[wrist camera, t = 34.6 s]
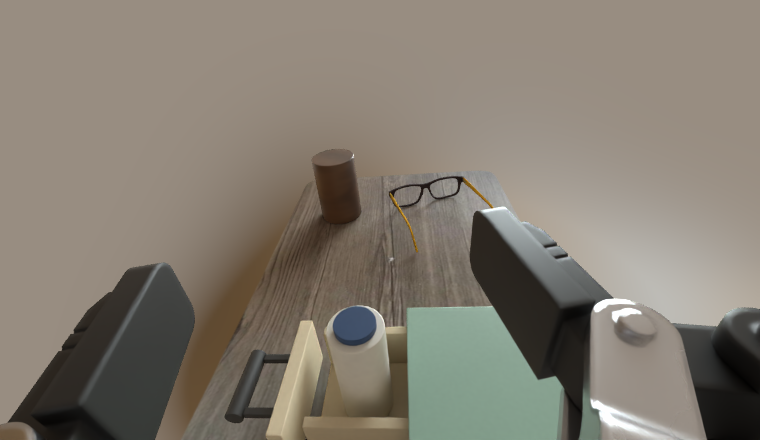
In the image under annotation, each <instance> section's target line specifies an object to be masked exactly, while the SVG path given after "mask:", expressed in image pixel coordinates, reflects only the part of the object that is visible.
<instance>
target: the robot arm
mask: <svg viewBox="0 0 760 440" xmlns="http://www.w3.org/2000/svg"><path fill="white" fill-rule="evenodd" d="M470 263H471V268H472V271H473V274H474V276H475V278H476V279H477V281H478V283H479V284H480V286H481V288H482V289H483V291H484V292H485V294H486V296H487V297H488V299H489V301H490V302H491V304H492V306H493V307H494V309H495V310H496V312H497V314H498V315H499V317H500V319H501V320H502V322H503V324H504V325H505V327H506V328H507V330H508V332H509V333H510V335H511V337H512V338H513V340H514V342H515V343H516V345H517V346H518V348H519V350H520V351H521V353H522V355H523V356H524V358H525V360H526V361H527V363H528V365H529V366H530V368H531V369H532V371H533V373H534V374H535V376H536V378H537V379H538V380H541V379H545V378H550V377H554V376H556V377H557V379H558V380H559V382H560V383H561V385H562V386H563V387H562V389H561V393H560V404H559V417H558V430H557V440H760V309H756V308H737V309H733V310H731V311H729V312H728V313H727V314H726V315H725V316H724V318H723V319H722V321H721V322H720V324H719V325H718V326H717V327H716V326H702V325H689V324H676V323H671V322H670V321H669V320H667V319H666V318H665V317H664V316H662V315H661V314H659V313H658V312H656V311H655V310H653V309H651V308H649V307H647V306H644V305H642V304H639V303H636V302H633V301H628V300H622V299H614V298H613V297H612V296H611V295H610V294H609V293H608V292H607V291H606V290H604V288H602V287H601V286H600V285H599V284H598V283H597V282H596V281H595V280H594V279H593V278H592V277H591V276H590V275H589V274H588V273H587V272H586V271H585V270H584V269H583V268H582V267H581V266H580V265H579V264H578V263H577V262H576V261H575V260H574V259H572V258H571V257H568V254H567V253H566V252H565V251H564V250H563V249H562V248H561V247H560V246H557V243H556V242H555V241H554V240H553V239H552V238H551V237H550V236H549V235H548V234H547V233H546V232H545V231H543V230H541V229H539V228H538V227H536V226H534V225H532V224H530V223H528V222H526V221H525V222H519V221H518V220H517V219H516V217H515V216H514V215H513V214H512V213H511V212H510V211H509V210H508V209H507V208H505V207H498V208H492V209H486V210H480V211H476V212H475V213H474V216H473V224H472V236H471V247H470ZM194 323H195V317H194V310H193V307H192V304H191V302H190V300H189V298H188V297H187V295H186V293H185V291H184V290H183V288H182V286H181V284H180V282H179V280H178V279H177V277H176V275H175V273H174V271H173V269H172V268H171V267H170V265H168V264H167V263H157V264H151V265H145V266H139V267H133V268H130V269H128V270H127V271H126V272H125V274H124V275H123V276H122V278H121V279H120V281H119V282H118V284H117V286H116V287H115V289H114V290H113V291H112V292H109V293H108V294H106V295H105V296H104V297H103V298H102V299H100V300H99V301H98V302H97V303H96V304H95V305H94V306H92V307H91V308H90V309H89V310H88V311H87V312H86V313H85V315H84V317H83V318H82V319H81V320H80V322H79V323H78V325H77V326H76V327H75V329H74V334H70V336H69V337H68V339H67V340H66V341H65V343H64V344H63V346H62V351H59V352H58V353H57V354H56V355H55V357H54V358H53V360H52V361H51V363H50V364H49V365H48V367H47V368H46V370H45V371H44V372H43V374H42V375H41V377H40V378H39V379H38V381H37V382H36V384H35V385H34V386H33V388H32V389H31V391H30V392H29V393H28V395H27V396H26V398H25V399H24V400H23V402H22V403H21V405H20V406H19V407H18V409H17V410H16V412H15V413H14V414H13V416H12V417H11V419H10V420H9V421H8V423H6V424H1V425H0V440H155V438H156V435H157V432H158V429H159V426H160V424H161V420H162V418H163V415H164V412H165V409H166V406H167V403H168V401H169V398H170V395H171V392H172V389H173V386H174V383H175V380H176V378H177V375H178V372H179V369H180V366H181V363H182V360H183V357H184V355H185V352H186V349H187V346H188V343H189V340H190V337H191V334H192V332H193V328H194Z"/></svg>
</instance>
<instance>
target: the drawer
mask: <svg viewBox="0 0 760 440" xmlns="http://www.w3.org/2000/svg"><path fill="white" fill-rule="evenodd" d="M326 329H327V328H325V330H324V338H325V342H326V346H327V349H328V353H329V357H330V361H331V367H330V372H329V378H328V383H327V388H326V393H325V399H324V404H323V409H322V414H321V417H310V414H311V410H312V405H313V400H314V396H315V391H316V387H317V382H318V377H319V373H320V368H321V363H322V359H323V356H322V353H321V349H320V346H319V342H318V339H317V335H316V332H315V328H314V325H313V321H301V322H300V325H299V329H298V332H297V335H296V338H295V342H294V345H293V348H292V351H291V354H266V353H265V352H264V351H262V350H253V351H252V352H251V355H250V357H249V360H248V362H247V364H246V367H245V369H244V371H243V374H242V376H241V379H240V381H239V383H238V386H237V388H236V391H235V393H234V395H233V398H232V400H231V402H230V405H229V407H228V410H227V412H226V414H225V419H226V420H227V421H229V422H232V423H241V422H242V421H243V419H244V417H245V418H271V419H270V423H269V426H268V429H267V432H266V438H267V440H305V437H306V438H307V440H409V430H408V368H407V327H385V331H386V340H387V349H388V358H389V366H390V375H391V384H392V393H393V406H392V409H391V411H390V413H389V415H388V416H387V417H386V418H374V417H349V416H348V415H347V413H346V410H345V406H344V402H343V399H342V395H341V391H340V387H339V383H338V380H337V376H336V372H335V368H334V364H333V360H332V357H331V353H330V349H329V345H328V341H327V338H326ZM264 363H288V364H287V367H286V371H285V374H284V377H283V380H282V384H281V387H280V390H279V393H278V397H277V400H276V403H275V406H274V408H248V406H249V403H250V400H251V398H252V395H253V392H254V390H255V387H256V384H257V382H258V379H259V376H260V374H261V371H262V368H263V366H264Z"/></svg>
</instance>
